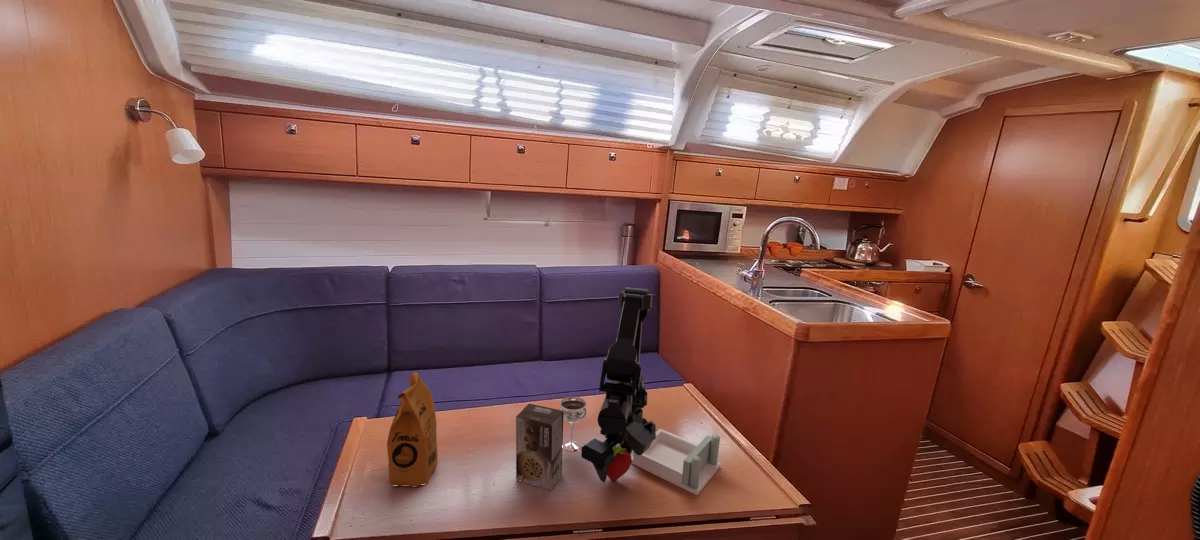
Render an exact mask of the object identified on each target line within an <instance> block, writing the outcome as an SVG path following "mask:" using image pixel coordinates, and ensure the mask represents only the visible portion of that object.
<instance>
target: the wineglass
mask: <svg viewBox="0 0 1200 540" xmlns="http://www.w3.org/2000/svg"><path fill="white" fill-rule="evenodd" d="M559 404H560V408H559V410H562V411H564V412H563V422H566V423H568V424H570V440H571V441H569V440H567V441H568V442H567V443H565V446H566V447H568V448H570V449H578V448H579V447H580V444H581V443H580V442H579V441H578V442H579V443H578V442H577V440H574V428H575V425H576V424H579V423H581V422H582V420H584V419H585V417H586V415H587V401H586V400H585V399H584V398H582V397H578V396H567V397H564V398H563V399H561V400H560V403H559ZM573 440H574V441H573Z"/></svg>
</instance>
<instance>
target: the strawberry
mask: <svg viewBox="0 0 1200 540" xmlns="http://www.w3.org/2000/svg"><path fill="white" fill-rule="evenodd" d="M613 450H614V457H613V460H614V461H613V462H612V463H611V464H610V465H608V471H607V478H608V479H610V481H612V482H616V481H618V479H620V478H621V477H623V476H624V475H625V474H626V473H627V472H628V471H629V469H630V467H631V465H632V459H631V457H632V454H631V455H630V454H629V453H628V452H627V451H626V449H624V448H621V445H620V444H619V445H617V446H616V447H615V448H613Z"/></svg>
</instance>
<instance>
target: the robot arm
mask: <svg viewBox="0 0 1200 540" xmlns="http://www.w3.org/2000/svg"><path fill="white" fill-rule="evenodd" d="M653 297H654V296H653V293H651V292H649V288H640V287H639V288H638V287H625V288H624V290H620V291H619V292H618V303H617V306H618V307H620V309H621V310H620V311H621V312H620V313H621V315H620V319H619V324H618V329H617V334H616V335H617V336H616V340H615V342H614V343H613V344H611V346H610V347H609V348H608V352H607V355H606V357H604V358H603V361H602V369H601V375H600V382H599V387H598V388H599V389H598V392H602V393H603V392H604V393H605V398H604V400H603V402H602V403H601V404H602V405H601V406H600V410H599V412H598V414H597V423H598V426H599V428H600V431H599V432H600V434H601V435H603V436H604V438H605V440H603V441H600V440H599V439H596V437H595V438H593V439H591V440H590V441H588V442H587V443H586V444H584V445H583V446H581V448H580V450H581V454H580V456H581V458H582V459H584V460H585V461H587V462H590V463H591V464H592V465H593V467H594V470H595V472H596V474H597V476H598V478H599V481H600V482H602V483H606V480H607V478H608V476H607V471H608V465H610V464H611V463H612V462H613V461H614V460H613V457H614V450H613V448H615V447H617V446H620V445H621V447H620V448H624V449H626V451H627V452H628V453H629V454H630V455H631V456H632V452H634V453H636V454H637V455H642V454H643V453H644V452H645V451H646V450H648V449H649V447H650V445H651V443H652V442H653V440H655V439H656V436H655V435H656V434H655V433H656V431H657V429H656V424H655V423H654V422H653V421H652V420H649V421H648V420H647V419H646V418H644V417H643V414H644V413H643V411H644V410H643V409H644V408H645V407H646V406H648V392H647V388H646V386H644V381H645V379H644V377H643V374H642V366H641V363H640V356H641V347H642V346H641V345H642V329H643V321H644V320H645V319H646V318H647V316H648V314H649V311H650V310H651V309H652V305H653ZM606 379H607V381H610V382H606V381H605V380H606Z"/></svg>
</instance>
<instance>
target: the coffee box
mask: <svg viewBox="0 0 1200 540" xmlns="http://www.w3.org/2000/svg"><path fill="white" fill-rule="evenodd" d="M563 412H564V411H562V410H560V409H556V408H552V407H547V406H543V405H538V404H534V403H533V404H532V403H528V404H526V405H525V407H524V408H523V409H522V410H521V411H520V412H519V413H518V414H517V415H516V416H515V480H516V479H518V480H521V481H523V482H522V483H525V482H527V483H526V484H528V483H531V484H530V485H532V484H535V485H534V486H536V485H538V486H537V487H539V486H541V487H540V488H543V487H544V489H546V488H547V489H546V490H550V491H551V490H553V488H554V486H556V484H557V483H558V480H559V479H560V478H561V476H562V474H563V450H564V449H563V443H564V420H563ZM518 480H517V481H518ZM521 481H520V482H521Z"/></svg>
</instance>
